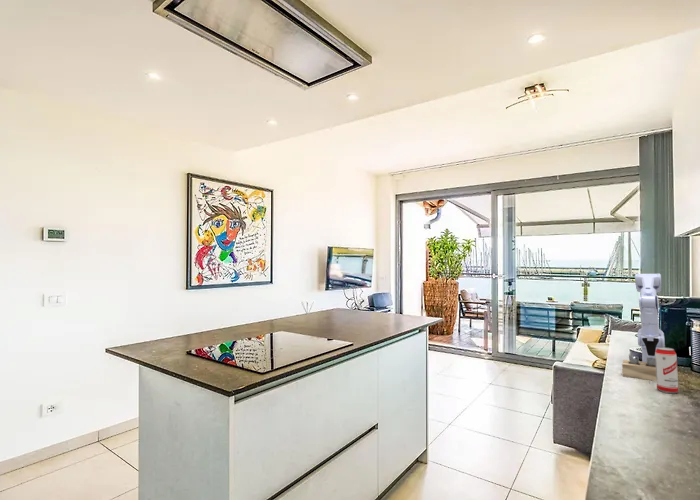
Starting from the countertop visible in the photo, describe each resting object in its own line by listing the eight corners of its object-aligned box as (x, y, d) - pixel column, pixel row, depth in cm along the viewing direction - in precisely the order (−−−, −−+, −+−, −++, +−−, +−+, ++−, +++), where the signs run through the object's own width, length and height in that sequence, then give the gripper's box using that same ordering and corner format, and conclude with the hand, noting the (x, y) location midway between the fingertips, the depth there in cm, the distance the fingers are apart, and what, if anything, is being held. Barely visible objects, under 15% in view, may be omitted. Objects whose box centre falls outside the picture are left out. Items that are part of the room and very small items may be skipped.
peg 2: (647, 367, 163) (646, 357, 163) (656, 369, 161) (656, 358, 161) (647, 369, 160) (646, 358, 160) (656, 370, 158) (656, 359, 158)
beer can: (683, 394, 139) (680, 350, 140) (666, 394, 139) (663, 350, 140) (669, 388, 145) (666, 346, 146) (652, 388, 145) (650, 346, 146)
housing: (624, 370, 171) (623, 359, 171) (661, 375, 163) (660, 363, 163) (622, 376, 162) (622, 364, 162) (661, 381, 154) (661, 369, 154)
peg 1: (630, 365, 166) (629, 355, 167) (639, 366, 164) (638, 356, 165) (629, 367, 164) (629, 356, 164) (638, 368, 162) (638, 357, 162)
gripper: (638, 320, 170) (639, 351, 169) (637, 324, 158) (639, 357, 158) (658, 322, 165) (660, 353, 164) (659, 326, 154) (660, 359, 153)
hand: (651, 355), depth 161 cm, fingers closed
